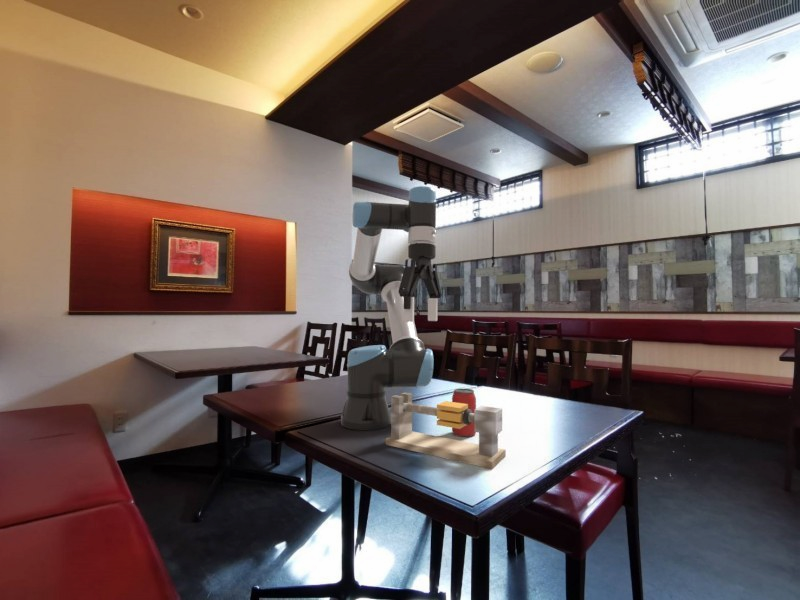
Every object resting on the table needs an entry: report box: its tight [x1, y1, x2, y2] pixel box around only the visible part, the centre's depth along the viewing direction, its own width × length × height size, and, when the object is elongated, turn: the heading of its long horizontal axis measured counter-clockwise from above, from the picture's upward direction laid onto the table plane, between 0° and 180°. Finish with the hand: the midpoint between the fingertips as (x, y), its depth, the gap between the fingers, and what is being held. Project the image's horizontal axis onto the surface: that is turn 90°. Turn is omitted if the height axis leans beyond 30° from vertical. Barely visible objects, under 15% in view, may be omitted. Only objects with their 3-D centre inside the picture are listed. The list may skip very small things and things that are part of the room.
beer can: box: [451, 388, 477, 438], centre depth 107 cm, size 7×7×12 cm
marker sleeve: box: [436, 400, 468, 429], centre depth 93 cm, size 6×5×5 cm
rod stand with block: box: [385, 392, 507, 470], centre depth 94 cm, size 28×9×12 cm, turn 57°
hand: (421, 321), depth 105 cm, fingers open, 13 cm apart
